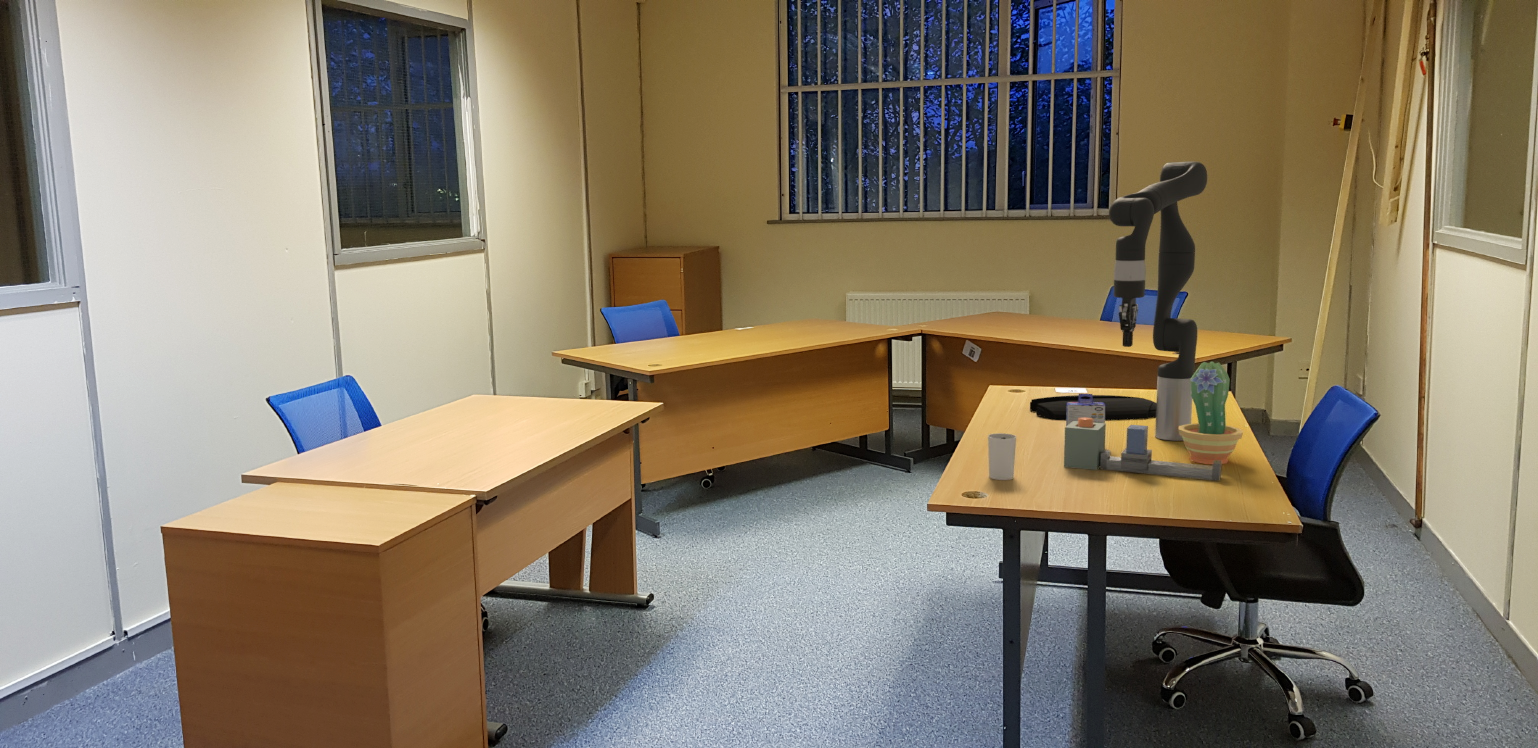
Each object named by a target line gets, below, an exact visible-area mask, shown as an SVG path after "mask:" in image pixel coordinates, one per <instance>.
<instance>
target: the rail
mask: <svg viewBox="0 0 1538 748" xmlns="http://www.w3.org/2000/svg"><path fill="white" fill-rule="evenodd" d="M1099 469H1100V470H1106V471H1116V472H1117V471H1118V472H1126V473H1128V472H1129V473H1137V474H1145V475H1146V474H1147V475H1157V476H1165V475H1166V476H1167V477H1177V478H1188V479H1197V480H1206V481H1215V482H1216V481H1217V482H1219V481H1220V480H1221V475H1222V464H1221V460H1214V462H1213V464H1212V465H1209V464H1198V463H1197V464H1195V463H1193V464H1192V463H1185V462H1173V461H1163V460H1153V459H1151V460H1149V462H1148V466H1147V472H1145V471H1135V470H1125V469H1121V456H1111V450H1109V449H1105V450H1103V451H1102V452H1101V461H1100V467H1099Z"/></svg>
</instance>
